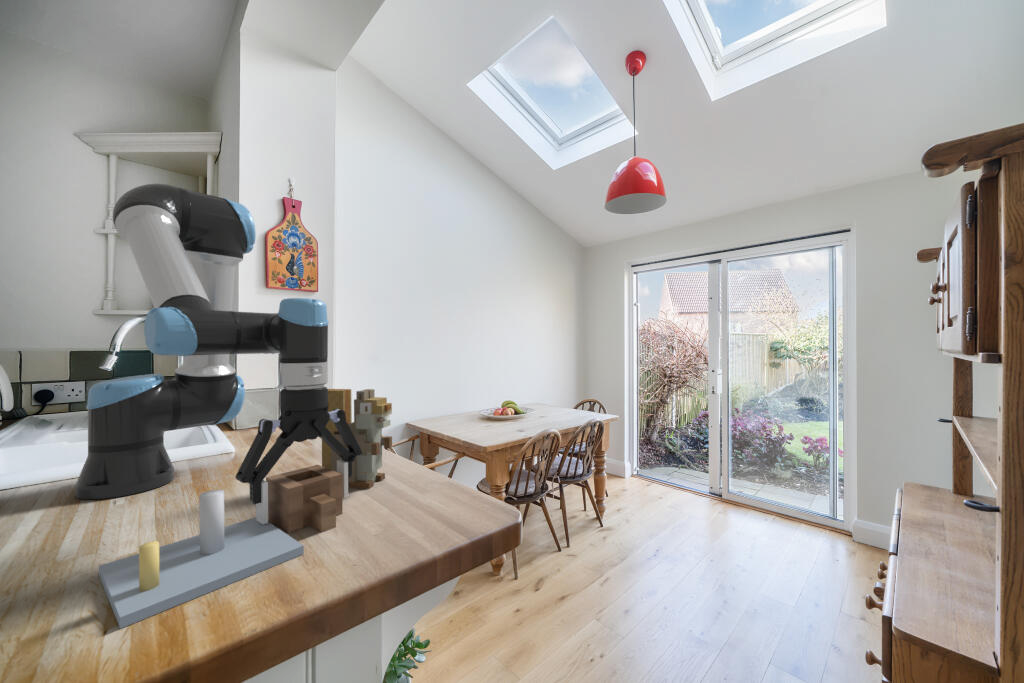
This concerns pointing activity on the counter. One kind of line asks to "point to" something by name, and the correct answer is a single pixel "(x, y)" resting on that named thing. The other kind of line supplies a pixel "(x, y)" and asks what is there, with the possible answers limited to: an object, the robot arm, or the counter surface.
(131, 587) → the post board
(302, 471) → the tabbed square frame
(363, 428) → the toy
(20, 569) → the counter surface
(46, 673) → the counter surface
